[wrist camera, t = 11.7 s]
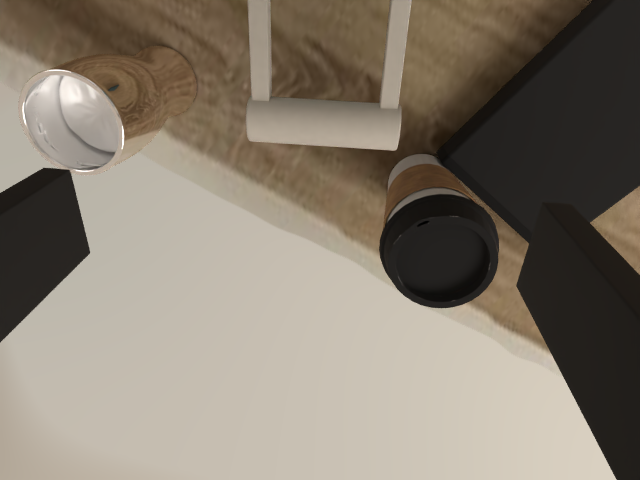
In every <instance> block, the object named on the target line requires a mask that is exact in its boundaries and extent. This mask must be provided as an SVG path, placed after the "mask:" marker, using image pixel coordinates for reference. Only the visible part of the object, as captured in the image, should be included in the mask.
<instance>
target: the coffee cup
mask: <svg viewBox="0 0 640 480" xmlns="http://www.w3.org/2000/svg"><path fill="white" fill-rule="evenodd" d="M379 251H380V258H381V261H382V264H383V267H384V269H385V272H386V273H387V275H388V276H389V278H390V279H391V280H392V282H393V284H394V285H395V286H396V288H397V289H398V290H399V291H400V292H401V293H402V294H403V295H404V296H405V297H407V298H408V299H410V300H411V301H413V302H415V303H418V304H420V305H423V306H427V307H431V308H450V307H455V306H459V305H463V304H465V303H467V302H469V301H471V300H473V299H474V298H476V297H477V296H479V295H480V294H481V293H482V292H483V291H484V290H485V289H487V287H488V286H489V284H490V283H491V282H492V280H493V278H494V276H495V273H496V271H497V266H498V252H499V238H498V234H497V230H496V226H495V224H494V222H493V220H492V218H491V216H490V215H489V214H488V213H487V212H486V211H485V209H484V208H483V207H481V206H480V205H478V204H477V203H476V201H475V200H474V199H473V198H472V197H471V195H470V194H469V193H468V192H467V191H466V189H465V188H464V187H463V186H462V185H461V183H460V182H459V181H458V180H457V179H456V178H455V176H454V175H453V174H452V173H451V172H450V170H449V169H448V168H447V167H446V166H444V165H443V164H442V163H441V161H440V159H438V158H437V157H434V156H432V155H428V154H415V155H411V156H408V157H406V158H404V159H403V160H401V161H400V162H399V163H398V164H397V165H396V166H395V167H394V168H393V170H392V172H391V173H390V176H389V180H388V193H387V200H386V208H385V217H384V226H383V232H382V235H381V238H380V246H379Z"/></svg>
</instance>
